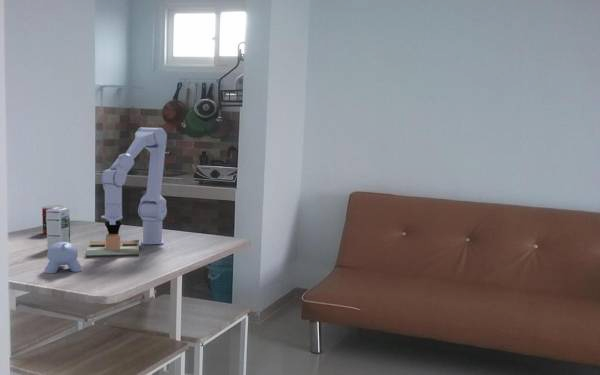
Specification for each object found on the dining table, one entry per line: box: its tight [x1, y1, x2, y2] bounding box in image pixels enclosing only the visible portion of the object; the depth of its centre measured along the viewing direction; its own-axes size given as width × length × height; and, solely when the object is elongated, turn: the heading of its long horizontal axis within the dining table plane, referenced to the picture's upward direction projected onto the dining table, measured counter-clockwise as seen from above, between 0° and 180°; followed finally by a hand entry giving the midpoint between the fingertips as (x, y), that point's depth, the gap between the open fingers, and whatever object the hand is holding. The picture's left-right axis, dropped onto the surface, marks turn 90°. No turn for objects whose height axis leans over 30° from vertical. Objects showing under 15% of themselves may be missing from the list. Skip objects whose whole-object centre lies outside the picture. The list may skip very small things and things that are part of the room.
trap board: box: [86, 239, 140, 258], centre depth 215 cm, size 16×17×2 cm
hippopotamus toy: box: [44, 242, 83, 274], centre depth 188 cm, size 11×15×10 cm
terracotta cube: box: [105, 233, 121, 250], centre depth 208 cm, size 4×4×4 cm
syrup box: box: [46, 207, 71, 250], centre depth 217 cm, size 6×6×14 cm
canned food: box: [41, 204, 64, 235], centre depth 246 cm, size 8×8×11 cm
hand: (113, 241), depth 212 cm, fingers closed
